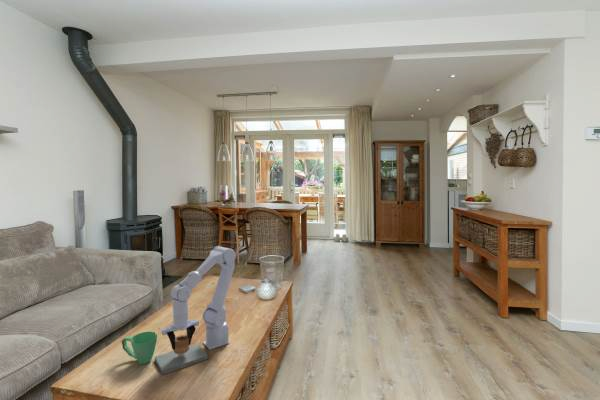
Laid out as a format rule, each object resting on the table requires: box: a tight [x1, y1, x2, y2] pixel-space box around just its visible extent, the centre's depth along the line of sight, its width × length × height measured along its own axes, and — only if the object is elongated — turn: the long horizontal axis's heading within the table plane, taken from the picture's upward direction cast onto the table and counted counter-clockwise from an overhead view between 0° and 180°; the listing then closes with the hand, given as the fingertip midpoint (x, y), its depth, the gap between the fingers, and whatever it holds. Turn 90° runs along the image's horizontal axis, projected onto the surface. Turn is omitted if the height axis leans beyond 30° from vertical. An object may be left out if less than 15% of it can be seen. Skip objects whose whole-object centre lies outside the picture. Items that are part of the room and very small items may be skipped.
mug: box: [121, 331, 158, 365], centre depth 133 cm, size 15×10×10 cm
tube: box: [173, 334, 190, 354], centre depth 133 cm, size 6×6×5 cm
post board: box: [154, 343, 209, 375], centre depth 134 cm, size 18×12×5 cm, turn 127°
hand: (181, 346), depth 134 cm, fingers closed on tube, 6 cm apart
